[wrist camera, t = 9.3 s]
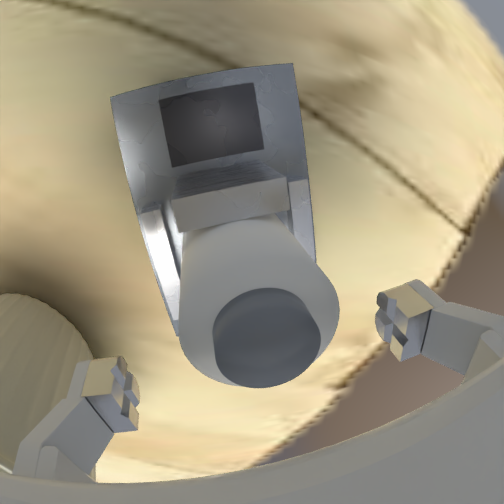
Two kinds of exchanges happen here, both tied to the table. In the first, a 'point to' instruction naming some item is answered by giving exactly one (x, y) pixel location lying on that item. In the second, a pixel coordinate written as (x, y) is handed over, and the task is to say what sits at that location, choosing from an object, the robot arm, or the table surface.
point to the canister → (33, 368)
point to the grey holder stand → (213, 160)
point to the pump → (253, 303)
